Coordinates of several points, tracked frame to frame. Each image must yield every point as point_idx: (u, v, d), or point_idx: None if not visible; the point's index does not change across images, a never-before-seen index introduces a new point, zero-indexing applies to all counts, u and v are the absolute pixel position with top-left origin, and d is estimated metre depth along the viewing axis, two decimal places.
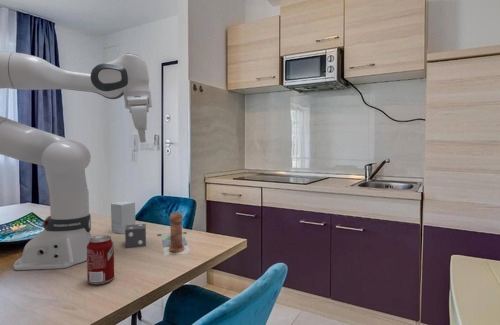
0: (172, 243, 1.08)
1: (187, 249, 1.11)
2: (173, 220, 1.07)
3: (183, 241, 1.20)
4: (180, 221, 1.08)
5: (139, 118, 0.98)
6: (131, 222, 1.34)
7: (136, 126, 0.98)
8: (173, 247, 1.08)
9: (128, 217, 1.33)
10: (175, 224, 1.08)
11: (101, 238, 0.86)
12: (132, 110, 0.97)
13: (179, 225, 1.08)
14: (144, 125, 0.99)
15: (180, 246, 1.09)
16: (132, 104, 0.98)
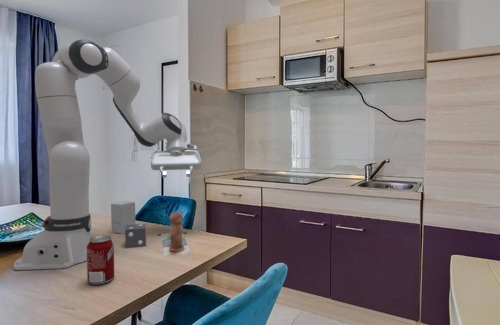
0: (172, 243, 1.08)
1: (187, 249, 1.11)
2: (173, 220, 1.07)
3: (183, 241, 1.20)
4: (180, 221, 1.08)
5: None
6: (131, 222, 1.34)
7: (200, 164, 1.27)
8: (173, 247, 1.08)
9: (128, 217, 1.33)
10: (175, 224, 1.08)
11: (101, 238, 0.86)
12: (199, 154, 1.30)
13: (179, 225, 1.08)
14: (200, 167, 1.29)
15: (180, 246, 1.09)
16: None
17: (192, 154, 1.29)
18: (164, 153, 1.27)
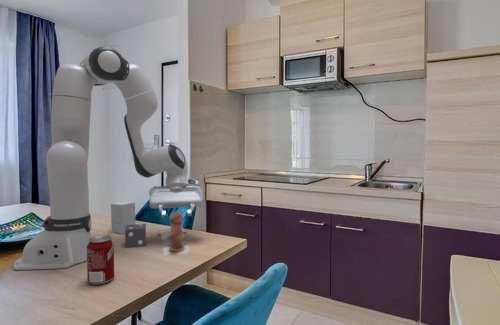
0: (172, 243, 1.08)
1: (187, 249, 1.11)
2: (173, 220, 1.07)
3: (183, 241, 1.20)
4: (180, 221, 1.08)
5: None
6: (131, 222, 1.34)
7: (202, 201, 1.19)
8: (173, 247, 1.08)
9: (128, 217, 1.33)
10: (175, 224, 1.08)
11: (101, 238, 0.86)
12: (201, 190, 1.22)
13: (179, 225, 1.08)
14: (202, 204, 1.21)
15: (180, 246, 1.09)
16: None
17: (193, 190, 1.21)
18: (163, 189, 1.19)
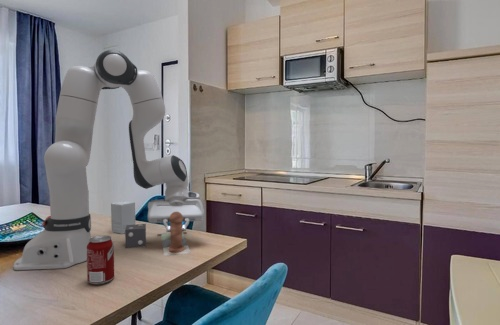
0: (172, 243, 1.08)
1: (187, 249, 1.11)
2: (173, 220, 1.07)
3: (183, 241, 1.20)
4: (180, 221, 1.08)
5: None
6: (131, 222, 1.34)
7: (203, 215, 1.13)
8: (173, 247, 1.08)
9: (128, 217, 1.33)
10: (175, 224, 1.08)
11: (101, 238, 0.86)
12: None
13: (179, 225, 1.08)
14: None
15: (180, 246, 1.09)
16: (198, 199, 1.17)
17: (194, 204, 1.16)
18: (163, 203, 1.14)
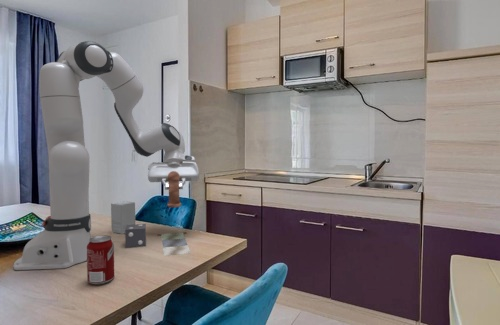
0: (170, 199, 1.20)
1: (187, 249, 1.11)
2: (171, 178, 1.19)
3: (183, 241, 1.20)
4: (177, 179, 1.20)
5: None
6: (131, 222, 1.34)
7: (198, 175, 1.25)
8: (171, 202, 1.20)
9: (128, 217, 1.33)
10: (173, 182, 1.20)
11: (101, 238, 0.86)
12: (197, 165, 1.28)
13: (176, 183, 1.20)
14: (198, 179, 1.27)
15: (177, 202, 1.21)
16: None
17: (190, 165, 1.28)
18: (161, 165, 1.26)
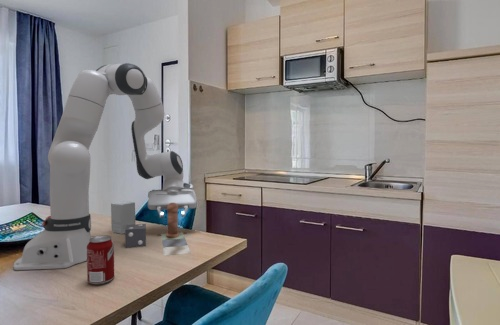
0: (169, 230, 1.25)
1: (187, 249, 1.11)
2: (170, 210, 1.24)
3: (183, 241, 1.20)
4: (176, 211, 1.25)
5: None
6: (131, 222, 1.34)
7: (195, 203, 1.30)
8: (169, 233, 1.25)
9: (128, 217, 1.33)
10: (171, 213, 1.25)
11: (101, 238, 0.86)
12: (195, 193, 1.33)
13: (175, 214, 1.25)
14: None
15: (176, 232, 1.26)
16: (192, 189, 1.34)
17: (188, 193, 1.33)
18: (161, 192, 1.31)
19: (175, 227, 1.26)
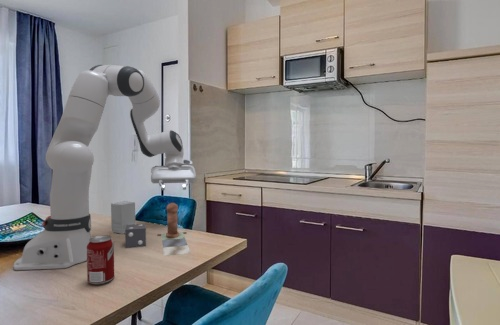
0: (169, 230, 1.25)
1: (187, 249, 1.11)
2: (169, 210, 1.24)
3: (183, 241, 1.20)
4: (175, 211, 1.25)
5: None
6: (131, 222, 1.34)
7: (195, 178, 1.42)
8: (169, 233, 1.25)
9: (128, 217, 1.33)
10: (171, 213, 1.25)
11: (101, 238, 0.86)
12: (194, 168, 1.45)
13: (174, 214, 1.25)
14: None
15: (176, 232, 1.26)
16: (192, 165, 1.46)
17: (188, 169, 1.44)
18: (163, 168, 1.42)
19: (175, 227, 1.26)
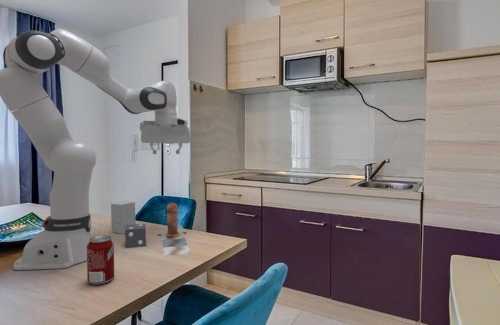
0: (169, 230, 1.25)
1: (187, 249, 1.11)
2: (169, 210, 1.24)
3: (183, 241, 1.20)
4: (175, 211, 1.25)
5: None
6: (131, 222, 1.34)
7: (189, 142, 1.31)
8: (169, 233, 1.25)
9: (128, 217, 1.33)
10: (171, 213, 1.25)
11: (101, 238, 0.86)
12: (189, 130, 1.30)
13: (174, 214, 1.25)
14: None
15: (176, 232, 1.26)
16: (186, 125, 1.30)
17: (182, 130, 1.30)
18: (154, 127, 1.26)
19: (175, 227, 1.26)
